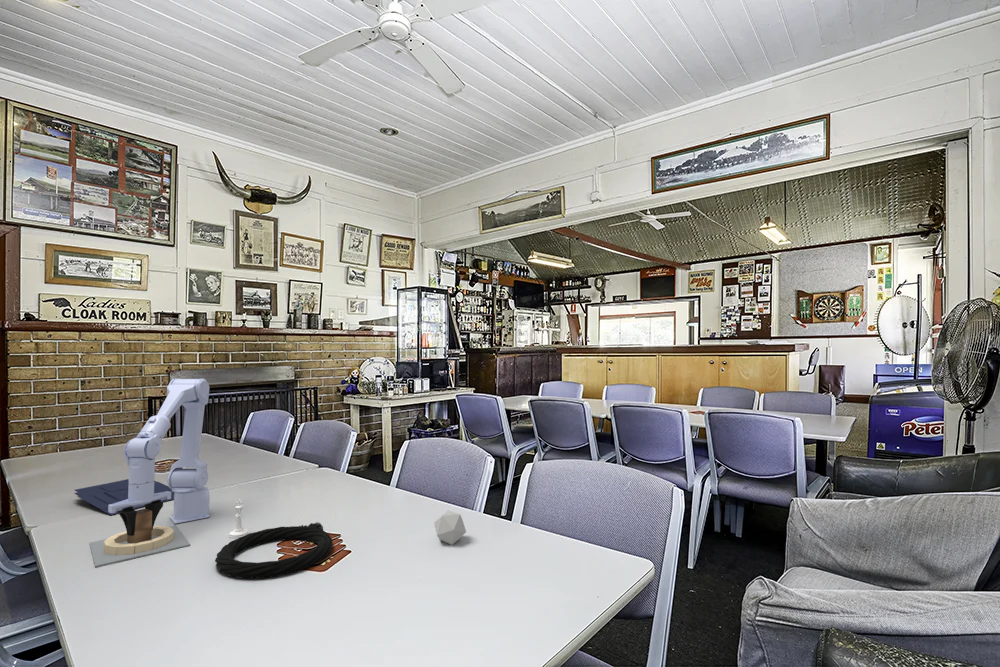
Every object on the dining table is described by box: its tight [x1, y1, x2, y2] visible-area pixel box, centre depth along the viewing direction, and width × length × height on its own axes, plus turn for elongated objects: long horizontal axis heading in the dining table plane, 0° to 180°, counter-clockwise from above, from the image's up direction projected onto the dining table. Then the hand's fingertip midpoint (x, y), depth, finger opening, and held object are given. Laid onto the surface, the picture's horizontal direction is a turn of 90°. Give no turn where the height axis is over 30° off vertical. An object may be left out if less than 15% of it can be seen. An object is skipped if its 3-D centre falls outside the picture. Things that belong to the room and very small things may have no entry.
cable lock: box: [214, 521, 333, 580], centre depth 128 cm, size 28×4×30 cm
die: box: [434, 510, 467, 546], centre depth 138 cm, size 8×9×10 cm
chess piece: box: [228, 498, 249, 539], centre depth 142 cm, size 5×5×10 cm
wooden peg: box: [127, 508, 152, 544], centre depth 135 cm, size 4×4×8 cm
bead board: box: [89, 524, 191, 568], centre depth 134 cm, size 20×20×2 cm
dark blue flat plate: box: [74, 478, 174, 516], centre depth 175 cm, size 24×30×4 cm
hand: (140, 532), depth 134 cm, fingers closed on wooden peg, 4 cm apart
